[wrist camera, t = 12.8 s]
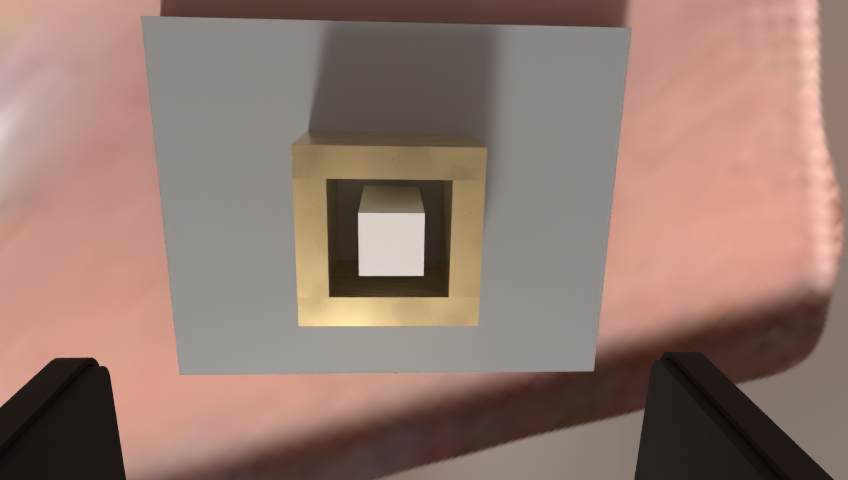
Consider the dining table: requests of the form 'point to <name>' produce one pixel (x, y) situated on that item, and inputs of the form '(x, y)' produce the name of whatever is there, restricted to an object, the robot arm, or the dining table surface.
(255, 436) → the dining table surface
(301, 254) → the collar
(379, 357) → the post stand
